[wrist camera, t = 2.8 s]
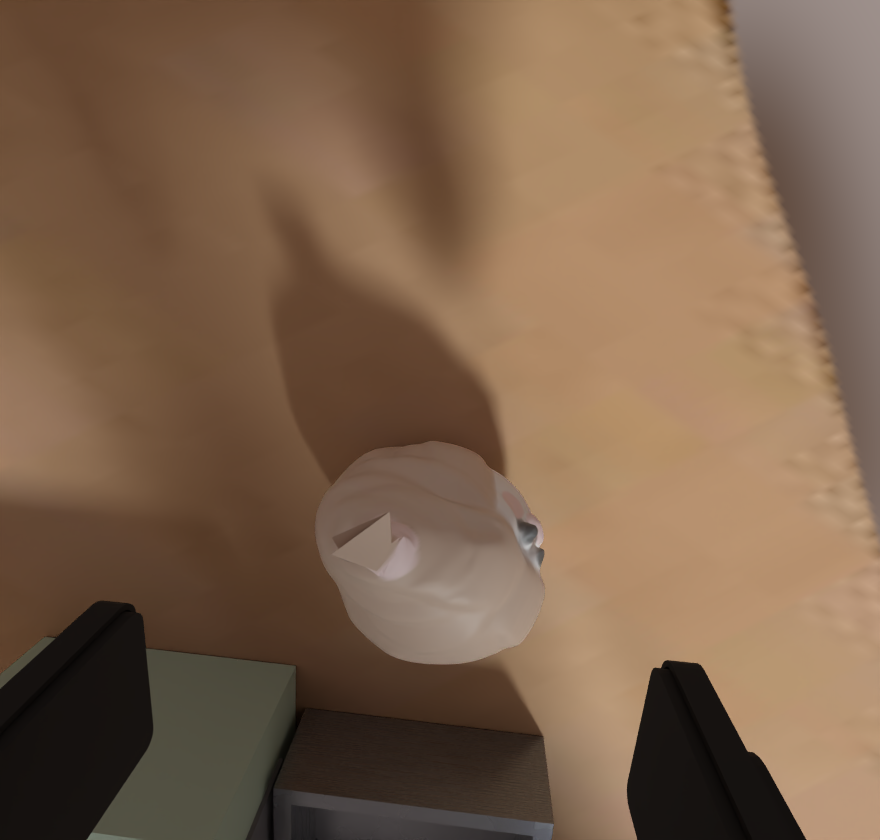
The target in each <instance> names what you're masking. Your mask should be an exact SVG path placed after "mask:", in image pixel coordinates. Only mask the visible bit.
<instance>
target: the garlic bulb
mask: <svg viewBox="0 0 880 840" xmlns="http://www.w3.org/2000/svg"><path fill="white" fill-rule="evenodd" d="M315 538H316V543H317V546H318V550H319V554H320V557H321V560H322V562H323V565H324V567H325V569H326V570H327V572H328V574H329V575H330V576H331V577H332V578H333V580H334V581H335V582H336V584H337V586H338V588H339V591H340V594H341V597H342V600H343V603H344V605H345V608H346V611H347V613H348V616H349V618H350V619H351V621H352V622H353V624H354V625H355V626H356V627H357V628H358V629H359V630H360V631H361V632H362V633H363V634H364V635H365V636H366V637H367V638H368V639H369V640H370V641H371V642H372V643H374V644H375V645H376V646H377V647H379V648H380V649H381V650H383V651H384V652H386V653H387V654H389V655H391V656H393V657H395V658H398V659H401V660H405V661H409V662H415V663H423V664H460V663H467V662H472V661H476V660H480V659H483V658H485V657H488V656H490V655H493V654H496V653H498V652H500V651H501V650H503V649H506V648H511V647H515V646H517V645H519V644H520V643H521V642H522V641H523V640H524V639H525V637H526V636H527V635H528V633H529V632H530V630H531V628H532V627H533V625H534V623H535V621H536V619H537V617H538V614H539V612H540V609H541V606H542V603H543V600H544V596H545V586H544V583H543V580H542V578H541V576H540V567H541V563H542V561H543V558H544V550H543V549H541V548H539V547H540V545H541V544H542V542H543V538H544V534H543V529H542V526H541V523H540V522H539V520H538V519H537V518H536V517H535V516H534V515H533V514H531V511H530V509H529V507H528V505H527V503H526V501H525V499H524V498H523V496H522V495H521V493H520V492H519V491H518V489H517V488H516V487H515V486H514V485H513V484H512V483H511V482H510V481H509V480H508V479H506V478H505V477H504V476H502V475H501V474H500V473H498V472H496V471H495V470H493V469H491V468H489V467H488V466H487V464H486V463H485V461H484V460H483V458H482V457H481V456H480V455H478V454H477V453H475V452H473V451H471V450H469V449H467V448H464V447H461V446H458V445H454V444H450V443H445V442H439V441H428V442H425V443H422V444H413V445H407V446H404V447H385V448H379V449H375V450H372V451H369V452H367V453H365V454H364V455H362V456H361V457H359V458H358V459H357V460H355V461H354V462H353V463H352V464H351V465H350V466H349V467H348V468H347V469H346V470H345V471H344V472H343V473H342V474H341V476H340V477H339V478H338V479H337V480H336V482H335V483H334V484H333V485H332V486H331V487H330V488H329V489H328V490H327V491H326V492H325V494H324V496H323V498H322V500H321V502H320V504H319V507H318V510H317V513H316V519H315Z"/></svg>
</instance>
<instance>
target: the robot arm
mask: <svg viewBox="0 0 880 840" xmlns="http://www.w3.org/2000/svg"><path fill="white" fill-rule="evenodd" d="M152 736H153V716H152V705H151V695H150V685H149V675H148V664H147V654H146V644H145V634H144V623H143V617H142V615H141V614H140V613H136V610H135V608H134V606H133V605H132V604H128V603H119V602H110V601H98V602H96V603H94V604H93V605H92V606H91V607H89V608H88V609H87V610H86V611H85V612H84V613H83V614H82V615H81V616H80V617H78V618H77V619H76V620H75V621H74V622H73V623H72V624H71V625H70V626H69V627H67V628H66V629H65V630H64V631H63V632H62V633H61V634H60V635H59V636H58V637H56V638H55V639H54V640H53V641H52V642H51V643H50V644H49V645H48V646H47V647H45V648H44V649H43V650H42V651H41V652H40V653H39V654H38V655H37V656H36V657H34V658H33V659H32V660H31V661H30V662H29V663H28V664H27V665H26V666H25V667H23V668H22V669H21V670H20V671H19V672H18V673H17V674H16V675H15V676H13V677H12V678H11V679H10V680H9V681H8V682H7V683H6V684H5V685H4V686H2V687H1V688H0V840H87V839H88V837H89V836H90V834H91V833H92V831H93V830H94V828H95V827H96V825H97V824H98V822H99V821H100V819H101V818H102V816H103V815H104V813H105V812H106V810H107V809H108V807H109V806H110V804H111V803H112V801H113V800H114V798H115V797H116V795H117V794H118V792H119V791H120V789H121V788H122V786H123V785H124V783H125V782H126V780H127V779H128V778H129V776H130V775H131V773H132V772H133V770H134V769H135V767H136V766H137V764H138V763H139V761H140V760H141V758H142V757H143V755H144V754H145V752H146V751H147V749H148V747H149V745H150V742H151V739H152ZM627 798H628V805H629V810H630V814H631V817H632V821H633V825H634V829H635V832H636V836H637V840H806V838H805V836H804V835H803V833H802V831H801V829H800V827H799V826H798V824H797V822H796V820H795V818H794V817H793V815H792V813H791V811H790V809H789V807H788V806H787V804H786V802H785V800H784V798H783V797H782V795H781V793H780V791H779V789H778V788H777V786H776V784H775V782H774V780H773V778H772V777H771V775H770V773H769V771H768V769H767V768H766V766H765V765H764V763H763V762H762V760H761V759H760V757H758V756H757V755H756V754H755V753H753V752H747V750H746V748H745V746H744V744H743V742H742V740H741V739H740V737H739V735H738V733H737V731H736V729H735V727H734V725H733V723H732V722H731V720H730V718H729V716H728V714H727V712H726V710H725V708H724V707H723V705H722V703H721V701H720V699H719V697H718V695H717V693H716V691H715V690H714V688H713V686H712V684H711V682H710V680H709V678H708V676H707V675H706V673H705V671H704V669H703V668H702V666H701V665H699V664H698V663H688V662H679V661H669V660H667V661H664V663H663V664H662V667H661V668H653V670H652V672H651V676H650V681H649V685H648V690H647V694H646V699H645V704H644V708H643V713H642V718H641V722H640V727H639V732H638V736H637V741H636V746H635V750H634V755H633V759H632V764H631V769H630V773H629V778H628V784H627Z"/></svg>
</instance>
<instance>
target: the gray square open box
mask: <svg viewBox="0 0 880 840" xmlns="http://www.w3.org/2000/svg"><path fill="white" fill-rule="evenodd" d="M273 810H274V840H551V839H552V833H553V827H554V821H553V813H552V804H551V796H550V788H549V780H548V772H547V763H546V755H545V747H544V739H543V736H534V735H526V734H518V733H509V732H501V731H493V730H484V729H476V728H468V727H459V726H451V725H442V724H434V723H426V722H417V721H409V720H401V719H392V718H384V717H376V716H367V715H359V714H351V713H342V712H334V711H326V710H317V709H309V708H306V709H305V711H304V714H303V716H302V719H301V721H300V724H299V726H298V728H297V731H296V733H295V736H294V738H293V741H292V743H291V746H290V748H289V751H288V753H287V756H286V758H285V761H284V763H283V765H282V768H281V770H280V773H279V775H278V778H277V780H276V783H275V785H274V788H273Z"/></svg>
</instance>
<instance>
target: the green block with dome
mask: <svg viewBox="0 0 880 840" xmlns="http://www.w3.org/2000/svg"><path fill="white" fill-rule="evenodd" d="M54 639H55V638H51V637H44V638H43V639H41V640H40V641H39V642H38V643H37V644H36V645H34V646H33V647H32V648H31V649H30V650H28V651H27V652H26V653H25V654H24V655H22V656H21V657H20V658H19V659H18V660H17V661H15V662H14V663H13V664H12V665H11V666H9V667H8V668H7V669H6V670H5V671H4V672H2V673H1V674H0V688H1V687H2V686H4V685H5V684H6V683H7V682H8V681H9V680H10V679H11V678H12V677H13V676H15V675H16V674H17V673H18V672H19V671H20V670H21V669H22V668H23V667H25V666H26V665H27V664H28V663H29V662H30V661H31V660H32V659H33V658H34V657H36V656H37V655H38V654H39V653H40V652H41V651H42V650H43V649H44V648H45V647H47V646H48V645H49V644H50V643H51V642H52V641H53V640H54ZM146 654H147V664H148V675H149V685H150V695H151V705H152V716H153V736H152V739H151V742H150V745H149V747H148V749H147V751H146V752H145V754H144V755H143V757H142V758H141V760H140V761H139V763H138V764H137V766H136V767H135V769H134V770H133V772H132V773H131V775H130V776H129V778H128V779H127V780H126V782H125V783H124V785H123V786H122V788H121V789H120V791H119V792H118V794H117V795H116V797H115V798H114V800H113V801H112V803H111V804H110V806H109V807H108V809H107V810H106V812H105V813H104V815H103V816H102V818H101V819H100V821H99V822H98V824H97V825H96V827H95V828H94V830H93V831H92V833H91V834H90V836H89V837H88V839H87V840H274V810H273V788H274V785H275V783H276V780H277V778H278V775H279V773H280V770H281V768H282V765H283V763H284V761H285V758H286V756H287V753H288V751H289V748H290V746H291V743H292V741H293V738H294V736H295V733H296V666H293V665H285V664H276V663H267V662H259V661H250V660H241V659H233V658H224V657H215V656H207V655H198V654H190V653H181V652H172V651H164V650H155V649H146Z"/></svg>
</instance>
